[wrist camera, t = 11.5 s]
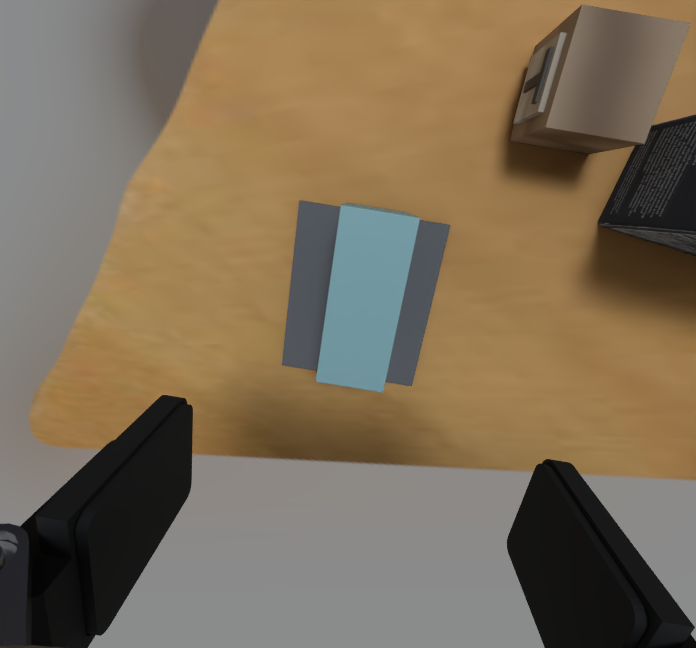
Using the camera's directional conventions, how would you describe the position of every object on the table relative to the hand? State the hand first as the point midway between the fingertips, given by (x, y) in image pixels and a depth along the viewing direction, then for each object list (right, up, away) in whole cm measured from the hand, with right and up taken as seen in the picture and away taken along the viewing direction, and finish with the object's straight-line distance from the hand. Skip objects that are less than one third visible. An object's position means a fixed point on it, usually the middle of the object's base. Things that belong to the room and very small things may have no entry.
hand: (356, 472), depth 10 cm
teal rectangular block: (+1, +7, +16) cm, 17 cm away
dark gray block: (+1, +6, +17) cm, 18 cm away
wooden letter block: (+13, +17, +12) cm, 25 cm away
